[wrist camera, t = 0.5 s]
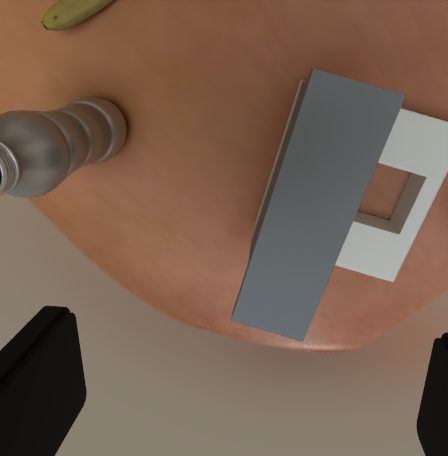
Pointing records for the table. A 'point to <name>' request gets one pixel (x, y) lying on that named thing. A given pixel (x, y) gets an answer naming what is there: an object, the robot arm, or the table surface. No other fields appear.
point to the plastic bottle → (56, 144)
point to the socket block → (336, 198)
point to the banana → (71, 13)
